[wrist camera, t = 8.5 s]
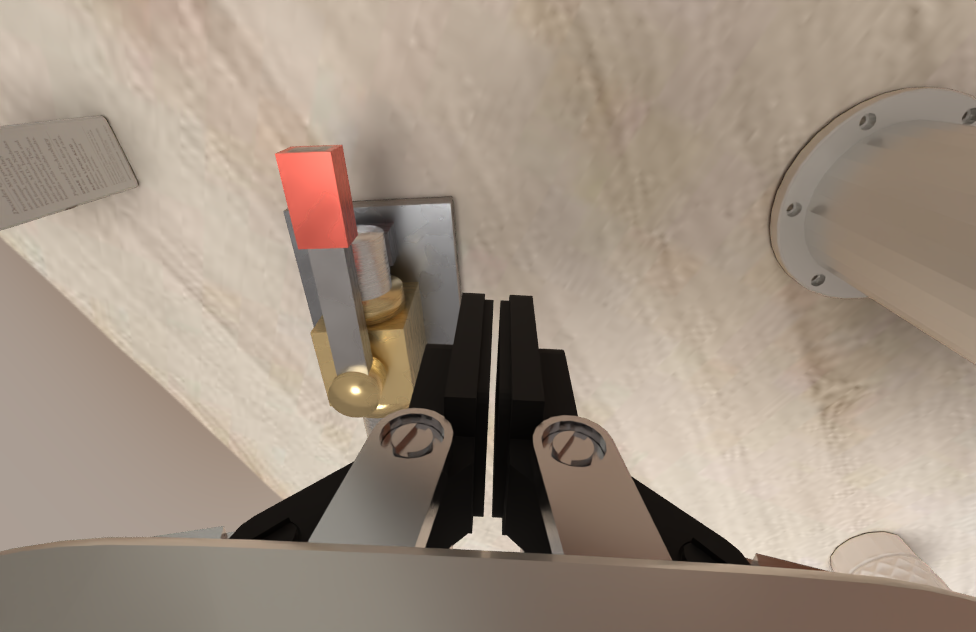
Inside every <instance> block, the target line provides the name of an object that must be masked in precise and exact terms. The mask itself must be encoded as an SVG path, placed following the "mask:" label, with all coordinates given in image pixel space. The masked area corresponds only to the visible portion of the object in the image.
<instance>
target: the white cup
mask: <svg viewBox="0 0 976 632" xmlns="http://www.w3.org/2000/svg"><path fill="white" fill-rule="evenodd" d="M831 567H832V569H833V571H834V572H839V573H847V574H856V575H866V576H876V577H885V578H891V579H896V580H902V581H908V582H913V583H919V584H925V585H930V586H934V587H938V588H942V589H946V590H950V591H952V590H951V589H950V588H949V587H948V586H947V585H946V584H945V582H944V581H943V580H942V579H941V578H940V577H939V576H938V575H937V574H935V573H934V571H933V570H932V569H931V568H930V567H929V566H928V565H927V564H926V563H924V562H923V561H922V560H921V559H920V558H919V557H918V556H917V555H916V554H915V553H914V552H913V551H912V550H911V549H910V547H909V546H908V545H907V544H906V543H905V542H904V541H903V540H902V539H901V538H900V537H899V536H898V535H894V534H890V533H886V532H875V533H866V534H863V535H860V536H857V537H854V538H851V539H849V540H848V541H846V542H845V543H843V544H842V545H840V546H839V547H838V548H837V549H836V550H835V552H834V553H833V555H832V556H831Z"/></svg>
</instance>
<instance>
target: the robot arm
mask: <svg viewBox="0 0 976 632" xmlns="http://www.w3.org/2000/svg"><path fill="white" fill-rule="evenodd" d="M788 206H789V207H788ZM770 235H771V243H772V248H773V250H774V253H775V256H776V258H777V261H778V262H779V264H780V265H781V266H782V268H783V269H784V271H785V272H786V273H787V274H788V275H789V276H791V277H792V278H793V279H794V280H795V281H797V282H798V283H799V284H801V285H802V286H804V287H805V288H806V289H808V290H810V291H812V292H815V293H818V294H820V295H823V296H826V297H833V298H840V299H856V298H866V297H870V298H871V299H873V300H875V301H876V302H878V303H879V304H881V305H882V306H884V307H885V308H887V309H889V310H890V311H892V312H893V313H895V314H896V315H898V316H900V317H901V318H903V319H904V320H906V321H907V322H909V323H910V324H912V325H914V326H915V327H917V328H918V329H920V330H921V331H923V332H925V333H926V334H928V335H929V336H931V337H932V338H934V339H936V340H937V341H939V342H940V343H942V344H943V345H945V346H946V347H948V348H950V349H951V350H953V351H954V352H956V353H957V354H959V355H961V356H962V357H964V358H965V359H967V360H968V361H970V362H972V363H973V364H975V365H976V98H975V97H973V96H971V95H969V94H966V93H963V92H959V91H956V90H953V89H945V88H933V87H919V88H905V89H901V90H896V91H892V92H888V93H884V94H881V95H879V96H876V97H874V98H872V99H869V100H867V101H865V102H862V103H860V104H858V105H856V106H855V107H853V108H852V109H850V110H848V111H847V112H845V113H843V114H842V115H840V116H838V117H837V118H836V119H834V120H833V121H832V122H831V123H830V124H828V125H827V126H826V127H825V128H824V129H822V130H821V131H820V132H819V133H818V134H816V136H815V137H814V138H813V139H812V140H811V141H810V142H809V143H808V144H807V145H806V146H805V148H804V149H803V150H802V151H801V152H800V153H799V155H798V156H797V158H796V159H795V161H794V162H793V163H792V165H791V166H790V168H789V169H788V171H787V172H786V174H785V177H784V179H783V181H782V183H781V185H780V187H779V189H778V191H777V194H776V198H775V201H774V204H773V208H772V212H771V222H770ZM492 322H493V300H485V294H478V293H462V298H461V304H460V309H459V315H458V320H457V326H456V332H455V337H454V343H453V345H451V344H430V343H427V344H426V346H425V350H424V353H423V357H422V361H421V364H420V368H419V371H418V375H417V379H416V382H415V386H414V390H413V393H412V397H411V401H410V404H409V408H408V409H403V410H399V411H396V412H394V413H391V414H389V415H387V416H386V417H384V418H383V419H381V420H380V421H379V422H378V423H377V425H376V426H375V427H374V428H373V430H372V431H371V433H370V435H369V437H368V438H367V440H366V442H365V444H364V445H363V447H362V449H361V451H360V452H359V454H358V456H357V457H356V459H355V461H354V462H352V463H350V464H348V465H347V466H345V467H343V468H341V469H339V470H337V471H336V472H334V473H332V474H330V475H328V476H327V477H325V478H323V479H321V480H319V481H317V482H316V483H314V484H312V485H310V486H308V487H307V488H305V489H303V490H301V491H299V492H297V493H296V494H294V495H292V496H290V497H288V498H286V499H285V500H283V501H281V502H279V503H277V504H276V505H274V506H272V507H270V508H268V509H266V510H265V511H263V512H261V513H259V514H257V515H256V516H254V517H253V518H251V519H250V520H248V521H247V522H245V523H244V524H242V525H241V526H240V527H239V528H238V529H237V530H236V532H230V533H226V530H225V527H224V526H221V527H215V528H208V529H202V530H194V531H188V532H181V533H174V534H167V535H161V536H154V537H107V538H106V537H105V538H92V539H78V540H65V541H57V542H51V543H44V544H38V545H31V546H25V547H18V548H12V549H9V550H4V551H0V632H976V597H973V596H969V595H965V594H961V593H957V592H954V591H950V590H946V589H942V588H938V587H934V586H930V585H925V584H919V583H913V582H908V581H902V580H896V579H891V578H885V577H876V576H866V575H856V574H847V573H839V572H830V571H826V570H822V569H818V568H814V567H810V566H806V565H801V564H797V563H793V562H789V561H785V560H781V559H777V558H773V557H769V556H765V555H761V554H757V553H756V554H755V557H754V559H753V560H752V559H748V558H745V557H744V556H743V554H742V553H741V552H740V551H739V550H738V549H737V548H736V547H734V546H733V545H732V544H731V543H729V542H728V541H727V540H726V539H724V538H723V537H721V536H720V535H718V534H717V533H715V532H714V531H712V530H711V529H709V528H708V527H706V526H705V525H703V524H702V523H700V522H699V521H697V520H696V519H694V518H693V517H691V516H690V515H688V514H687V513H685V512H684V511H682V510H681V509H679V508H678V507H676V506H675V505H673V504H672V503H670V502H669V501H667V500H666V499H664V498H663V497H661V496H660V495H658V494H657V493H655V492H654V491H652V490H651V489H649V488H648V487H646V486H645V485H643V484H642V483H640V482H639V481H637V480H636V479H634V478H633V477H631V475H630V473H629V471H628V469H627V467H626V465H625V463H624V461H623V459H622V457H621V455H620V453H619V451H618V449H617V447H616V445H615V443H614V441H613V439H612V438H611V436H610V435H609V434H608V432H607V431H606V430H605V429H603V428H602V427H601V426H600V425H598V424H596V423H594V422H592V421H590V420H588V419H585V418H581V417H578V414H577V409H576V404H575V400H574V395H573V390H572V385H571V380H570V375H569V370H568V366H567V361H566V356H565V352H564V350H557V349H539V348H538V339H537V331H536V322H535V314H534V305H533V297H532V296H521V295H510V297H509V301H501V303H500V320H499V339H498V357H497V375H496V394H495V425H494V462H493V499H492V517H498V518H502V535H507V536H508V537H509V538H510V539H511V540H513V541H514V542H515V543H516V544H517V545H518V546H519V547H520V548H521V550H520V552H501V551H481V550H461V549H453V545H454V544H455V543H456V542H458V541H459V540H460V539H462V538H463V537H464V536H465V535H467V534H468V533H472V526H473V516H478V517H483V516H484V495H485V474H486V452H487V431H488V410H489V388H490V366H491V344H492Z"/></svg>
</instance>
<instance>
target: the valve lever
mask: <svg viewBox="0 0 976 632" xmlns="http://www.w3.org/2000/svg"><path fill="white" fill-rule="evenodd" d="M275 156H276V160H277V164H278V168H279V172H280V176H281V180H282V184H283V189H284V193H285V197H286V201H287V205H288V209H289V213H290V217H291V222H292V226H293V230H294V234H295V238H296V242H297V246H298V249H308V253H309V258H310V262H311V266H312V271H313V275H314V279H315V283H316V288H317V292H318V296H319V301H320V305H321V309H322V314H323V318H324V322H325V326H326V331H327V335H328V339H329V344H330V348H331V352H332V357H333V361H334V365H335V369H336V375H335V378H334V380H333V382H332V384H331V386H330V388H329V390H328V399H329V402H330V404H331V405H332V406H333V408H334V409H336V410H337V411H338V412H340V413H341V414H343V415H346V416H349V417H365V416H368V415H370V414H371V413H373V412H374V411H375V410H376V409H377V407H378V404H379V401H380V398H381V395H382V392H383V389H384V386H385V383H386V379H387V372H386V369H385V367H384V365H383V364H382V363H381V362H380V361H379V360H377V359H376V358H374V357H372V352H371V347H370V341H369V336H368V331H367V325H366V320H365V314H364V309H363V303H362V298H361V293H360V287H359V282H358V276H357V271H356V265H355V260H354V255H353V249H352V242H353V241H354V240H355V238H356V237H357V236H358V232H357V226H356V220H355V215H354V209H353V203H352V198H351V192H350V186H349V180H348V175H347V169H346V163H345V158H344V152H343V146H342V145H323V146H296V147H289V148H287V149H285V150H283V151H280V152H278V153H276V154H275Z"/></svg>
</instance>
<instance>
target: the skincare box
mask: <svg viewBox="0 0 976 632" xmlns="http://www.w3.org/2000/svg"><path fill="white" fill-rule="evenodd" d="M137 186H138V183H137V180H136V178H135V176H134V174H133V171H132V169H131V167H130V165H129V163H128V161H127V159H126V157H125V155H124V153H123V151H122V149H121V147H120V145H119V143H118V141H117V139H116V137H115V135H114V133H113V131H112V129H111V128H110V126H109V124H108V122H107V121H106V119H105V118H104V117H103V116H91V117H82V118H72V119H63V120H54V121H44V122H35V123H25V124H16V125H6V126H0V231H1V230H4V229H7V228H11V227H14V226H17V225H20V224H23V223H27V222H30V221H33V220H36V219H39V218H42V217H45V216H48V215H52V214H55V213H58V212H61V211H64V210H68V209H71V208H74V207H76V206H79V205H82V204H85V203H88V202H92V201H95V200H98V199H101V198H104V197H107V196H111V195H113V194H117V193H120V192H123V191H126V190H129V189H132V188H135V187H137Z"/></svg>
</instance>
